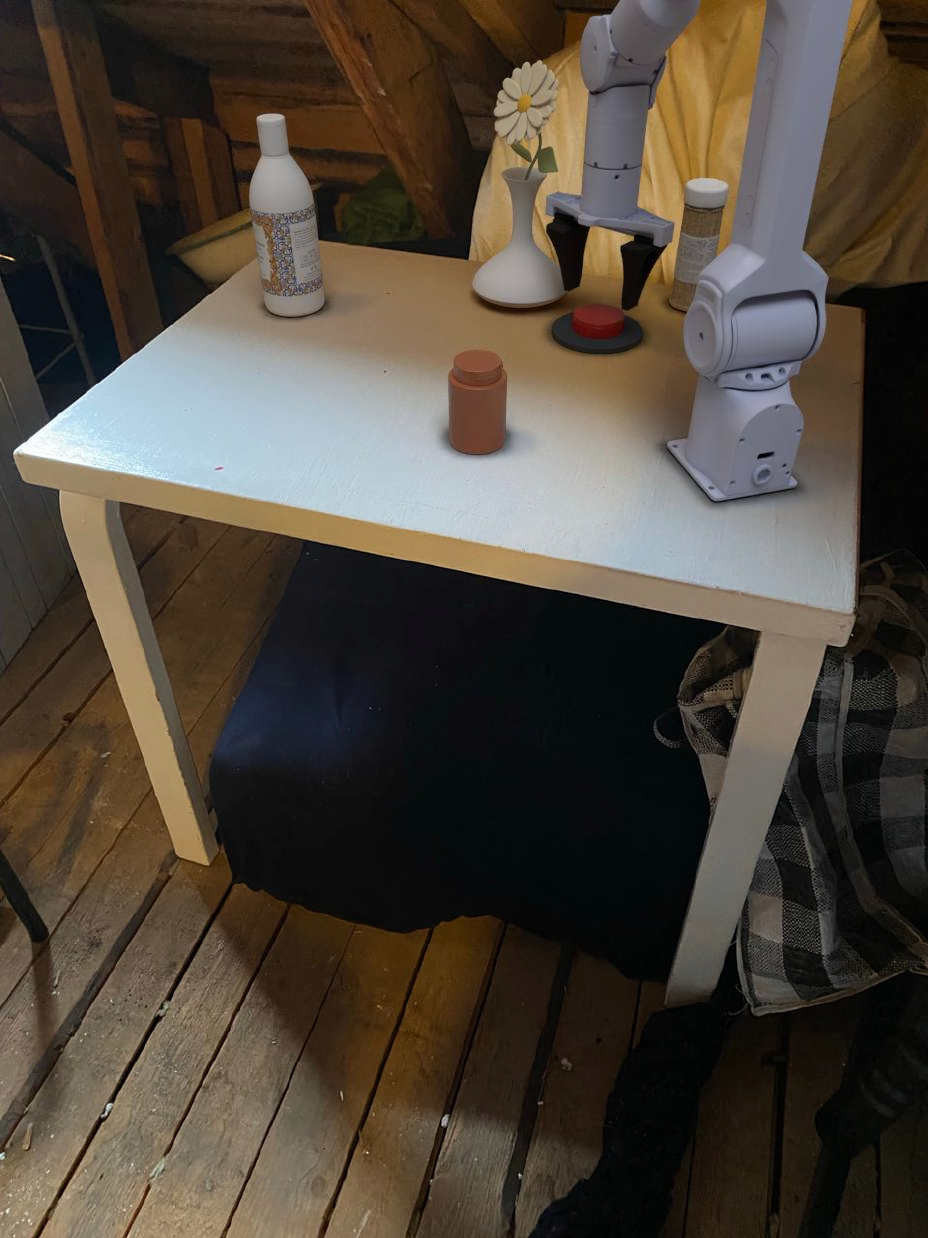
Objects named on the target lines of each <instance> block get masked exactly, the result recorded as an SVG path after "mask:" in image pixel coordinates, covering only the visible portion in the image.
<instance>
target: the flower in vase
mask: <svg viewBox="0 0 928 1238" xmlns="http://www.w3.org/2000/svg"><path fill="white" fill-rule="evenodd" d="M511 75H512V76H511V77H506V78H504V80H503V81H502V88H503V89H501V90H500V91H499V92H498V93H497V100H496V107H495V108H494V109H493V115H494V116H495V117H496V118H497V119H496V120H495V121H494V131H495V132H496V133H498V138H505V143H506V145H507V146H509V147H510V148H511V150H513V152H515V153H516V154H517V155H518V156H519V157H521V158H522V159H523V160H525V161H526V162H527V163H530V164H529V166H516V167H514V166H513V167H510V168H506V169H504V170H502V172H501V173H500V174H501V177H502V179H503V180H504V182H505V184H506V185H507V188H508V191H509V195H510V200H511V209H512V227H511V230H512V231H511V236H510V239H509V241H508V243H507V245H505V247H504V248H502V249H501V250H500V251H499V252H498V253H496V254H495V255H493V256H492V257H491V258H490V259H489V260H487V261H485V262H484V263H483V265H481V267H479V269H478V270H476V272H475V273H474V277H473V278H472V282H471V286H472V289H473V290H474V292H475V293H476V294H477V295H478V297H480V298H481V299H482V300H484V301H486V302H488V303H491V304H494V305H498V306H501V307H506V308H512V309H513V308H515V309H525V308H526V309H527V308H528V309H530V308H536V307H537V308H538V307H540V306H545V305H550V304H552V303H555V302H557V301H558V300H560V299H562V297H564V296H565V294H566V292H567V291H565V290H564V286H563V280H562V275H561V270H560V265H559V263H557V262H555V261H554V260H553V258H551V257H550V256H549V255H547V254H546V253H545V252H544V251H543V250H542V249H541V248H540V247H538V245H537V244H536V242H535V238H534V233H533V221H534V210H535V204H536V200H537V195H538V193H539V189H540V188H541V186H542V184H543V183H544V181H545V180H546V179H547V177H548V174H552V173H558V172H559V168H558V164H557V161H556V156H555V151H554V148H553V146H546V147H543V148H542V146H543V138H542V137H543V136H542V127H545V126H547V124H548V123H549V120H550V117H551V115H552V114H553V113H554V112H555V111H556V110H557V106H558V105H557V102H556V100H557V98H558V95H559V91H558V88H559V85H560V83H559V82H560V81H559V80H558V79H556V75H555V74H554V72H553V70H552V69H549V70H548V66H547V65H546V64H545V63H543V61H542V60H540V59H539V60H537V61H536V62H534V63H533V64H532V65H531V64H530V62H528V61H525V62H524V63H522V67H521V68H519V67H516V68H514V69H513V70H512V74H511ZM535 137H537V138H538V139H537V140H538V144H537V145H538V146H537V150H536V152H535V154H534V157H533V158H532V153H531V152H530V151H529V150H528V149H527V148H526V147H525V146H523V145H522V144H521V142H522V141H523V140H524V141H525V142H526V143H528V142H530V141H531V140H533V139H534V138H535ZM536 161H537V167H534V165H535V164H536Z"/></svg>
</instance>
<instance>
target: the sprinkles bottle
mask: <svg viewBox="0 0 928 1238" xmlns="http://www.w3.org/2000/svg"><path fill="white" fill-rule="evenodd" d="M729 187H730V186H729V184H728V183H727V182H726V181H723V180H721V179H717V178H712V177H700V178H699V177H697V178H693V179H690V180H689V181H687V182H686V183H685V186H684V193H683V211H682V219H681V225H680V230H679V238H678V244H677V249H676V255H675V262H674V268H673V281H672V286H671V294H670V297H669V301H668V302H669V305H670V306H671V307H672V308H674V309H676V310H679V311H682V312H686V313H687V312H688V310H689V307H690V305H691V303H692V301H693V298H694V295H695V291H696V287H697V280H698V275H699V274H700V272H701V271H702V270H703V269H704V268H705V267H706V266H707V265H709V264H710V263H711V262H712V261H713V260H714V259H715V258H716V257H717V256H718V249H719V243H720V237H721V229H722V228H721V227H722V223H723V222H722V220H723V214H724V209H725V208H726V204H727V202H728V196H729V189H730V188H729Z"/></svg>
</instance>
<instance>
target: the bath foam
mask: <svg viewBox="0 0 928 1238" xmlns="http://www.w3.org/2000/svg"><path fill="white" fill-rule="evenodd" d="M255 121H256V127H257V134H258V141H259V149H260V153H261V154H260V155H261V156H260V158H259V160H258V162H257V165H256V167H255V169H254V171H253V174H252V177H251V179H250V180H251V181H250V184H249V192H248V193H249V194H248V201H249V211H250V216H251V223H252V230H253V236H254V243H255V249H256V255H257V262H258V268H259V274H260V282H261V288H262V293H263V300H264V304H265V307H266V310H268V311H269V312H270V313H271V314H274V315H276V316H281V317H289V318H290V317H292V318H294V317H295V318H296V317H302V316H307V315H311V314H313V313H316V312H318V311H320V309H322V307H323V306H324V305H325V301H326V299H325V289H324V277H323V269H322V260H321V250H320V240H319V233H318V232H319V231H318V224H317V216H316V215H317V213H316V206H315V199H314V196H313V195H314V194H313V191H312V188H311V185H310V182H309V180H308V177H306V175H305V173H304V171H303V170H302V169H301V167H300V166H299V165H298V163H297V162H296V160H295V159H294V158H293V156H292V155H291V154H290V150H289V141H288V131H287V124H286V123H287V122H286V117H285V115H283V114H280V113H264V114H261V115H258V116H257V117H256V120H255Z"/></svg>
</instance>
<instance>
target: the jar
mask: <svg viewBox="0 0 928 1238" xmlns="http://www.w3.org/2000/svg"><path fill="white" fill-rule="evenodd" d="M452 364H453V368H451V369H450V370H449V372H448V373H447V391H448V393H447V394H448V395H447V397H448V441H449V443H450V446H451V447H452V448H453V449H455V450H456V451H458V452H461V453H463V454H468V455H478V456H479V455H488V454H491V453H494V452H496V451H499V450H500V449H501V448H502V447H503V446H504V445H505V443H506V437H507V436H506V435H507V434H506V433H507V398H508V396H507V395H508V373H507V371H506V370H505V369H504V362H503V360H502V358H501V356H500V355H499V354H498V353H495V352H493V351H490V350H486V349H470V350H466V351H462V352H460V353H457V354H456V355H455V356H454V358H453V363H452Z"/></svg>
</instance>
